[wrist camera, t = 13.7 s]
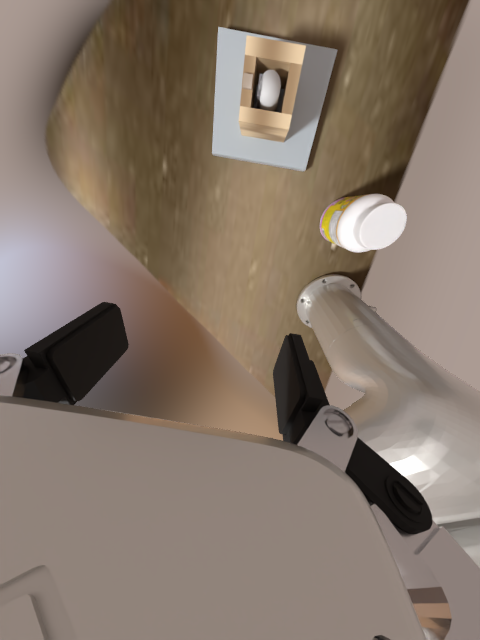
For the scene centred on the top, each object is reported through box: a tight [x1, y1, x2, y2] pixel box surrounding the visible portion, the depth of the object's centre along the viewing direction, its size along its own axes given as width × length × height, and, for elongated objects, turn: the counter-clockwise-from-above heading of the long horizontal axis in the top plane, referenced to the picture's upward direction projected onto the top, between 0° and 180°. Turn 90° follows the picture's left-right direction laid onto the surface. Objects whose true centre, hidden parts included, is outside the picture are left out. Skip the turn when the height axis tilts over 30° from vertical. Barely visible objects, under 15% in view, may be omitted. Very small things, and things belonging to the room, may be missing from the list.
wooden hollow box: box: [239, 35, 306, 143], centre depth 22 cm, size 6×6×5 cm
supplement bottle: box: [320, 194, 407, 252], centre depth 25 cm, size 7×7×13 cm
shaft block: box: [212, 27, 337, 172], centre depth 22 cm, size 14×11×6 cm
